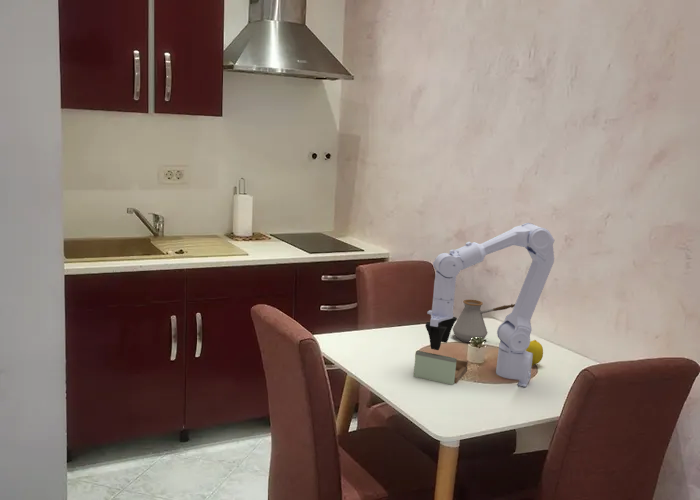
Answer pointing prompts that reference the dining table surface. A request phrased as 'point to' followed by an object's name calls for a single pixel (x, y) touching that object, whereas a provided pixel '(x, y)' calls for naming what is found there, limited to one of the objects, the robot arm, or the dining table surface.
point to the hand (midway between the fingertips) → (439, 345)
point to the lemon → (535, 351)
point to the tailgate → (435, 367)
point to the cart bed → (460, 369)
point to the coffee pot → (473, 320)
